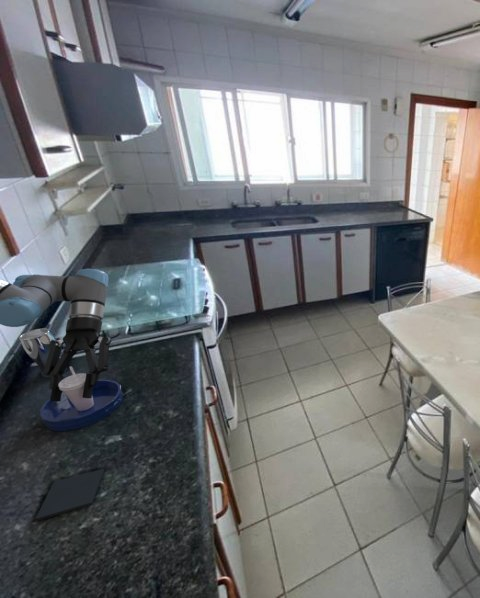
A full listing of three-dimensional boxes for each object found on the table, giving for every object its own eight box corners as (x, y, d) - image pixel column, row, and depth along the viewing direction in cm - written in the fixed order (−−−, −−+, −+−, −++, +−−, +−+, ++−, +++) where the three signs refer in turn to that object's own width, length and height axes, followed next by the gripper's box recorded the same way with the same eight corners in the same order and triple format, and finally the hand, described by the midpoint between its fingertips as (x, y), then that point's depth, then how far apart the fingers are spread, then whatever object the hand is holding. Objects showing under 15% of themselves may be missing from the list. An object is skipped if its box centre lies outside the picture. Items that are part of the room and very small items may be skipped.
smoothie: (104, 404, 97) (88, 366, 91) (76, 418, 92) (57, 378, 86) (94, 395, 100) (77, 358, 93) (66, 408, 94) (47, 369, 88)
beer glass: (39, 381, 104) (16, 342, 98) (41, 370, 109) (19, 332, 102) (68, 373, 108) (48, 334, 102) (70, 363, 113) (50, 325, 106)
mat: (36, 521, 68) (34, 519, 68) (54, 484, 75) (53, 481, 75) (92, 504, 72) (91, 502, 71) (104, 470, 79) (103, 468, 79)
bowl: (32, 438, 85) (26, 429, 84) (59, 396, 99) (55, 387, 98) (115, 420, 93) (111, 411, 91) (129, 383, 106) (126, 374, 105)
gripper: (130, 320, 104) (120, 396, 96) (54, 325, 98) (37, 405, 91) (117, 313, 97) (105, 394, 89) (34, 317, 92) (14, 403, 84)
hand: (71, 399), depth 90 cm, fingers closed on smoothie, 6 cm apart
